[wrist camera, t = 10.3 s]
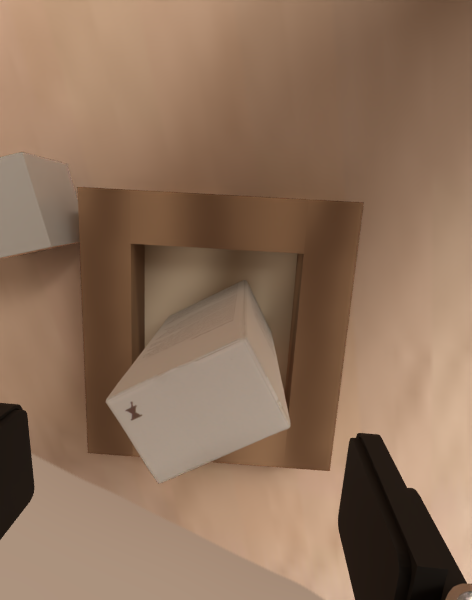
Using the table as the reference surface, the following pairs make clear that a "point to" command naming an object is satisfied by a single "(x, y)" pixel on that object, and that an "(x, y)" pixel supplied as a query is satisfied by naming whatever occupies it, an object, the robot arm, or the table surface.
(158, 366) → the skincare box
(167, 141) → the table surface
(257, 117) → the table surface
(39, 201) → the grey cube
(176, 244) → the socket block
